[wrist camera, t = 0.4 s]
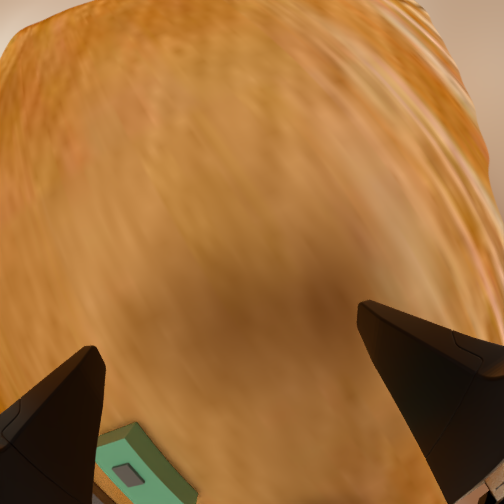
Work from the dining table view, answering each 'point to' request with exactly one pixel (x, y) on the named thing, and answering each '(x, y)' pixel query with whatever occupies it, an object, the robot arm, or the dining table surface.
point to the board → (141, 468)
